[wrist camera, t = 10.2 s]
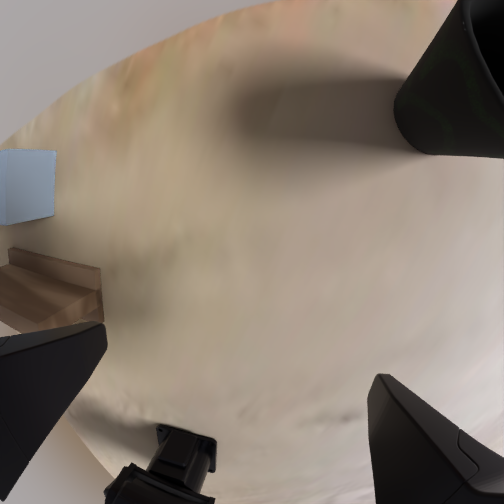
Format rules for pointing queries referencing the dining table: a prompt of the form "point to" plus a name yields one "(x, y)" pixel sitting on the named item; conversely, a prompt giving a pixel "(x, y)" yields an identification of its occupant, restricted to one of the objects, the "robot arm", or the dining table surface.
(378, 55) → the dining table surface
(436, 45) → the cup
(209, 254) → the dining table surface
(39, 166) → the letter cube
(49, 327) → the wooden l bracket
